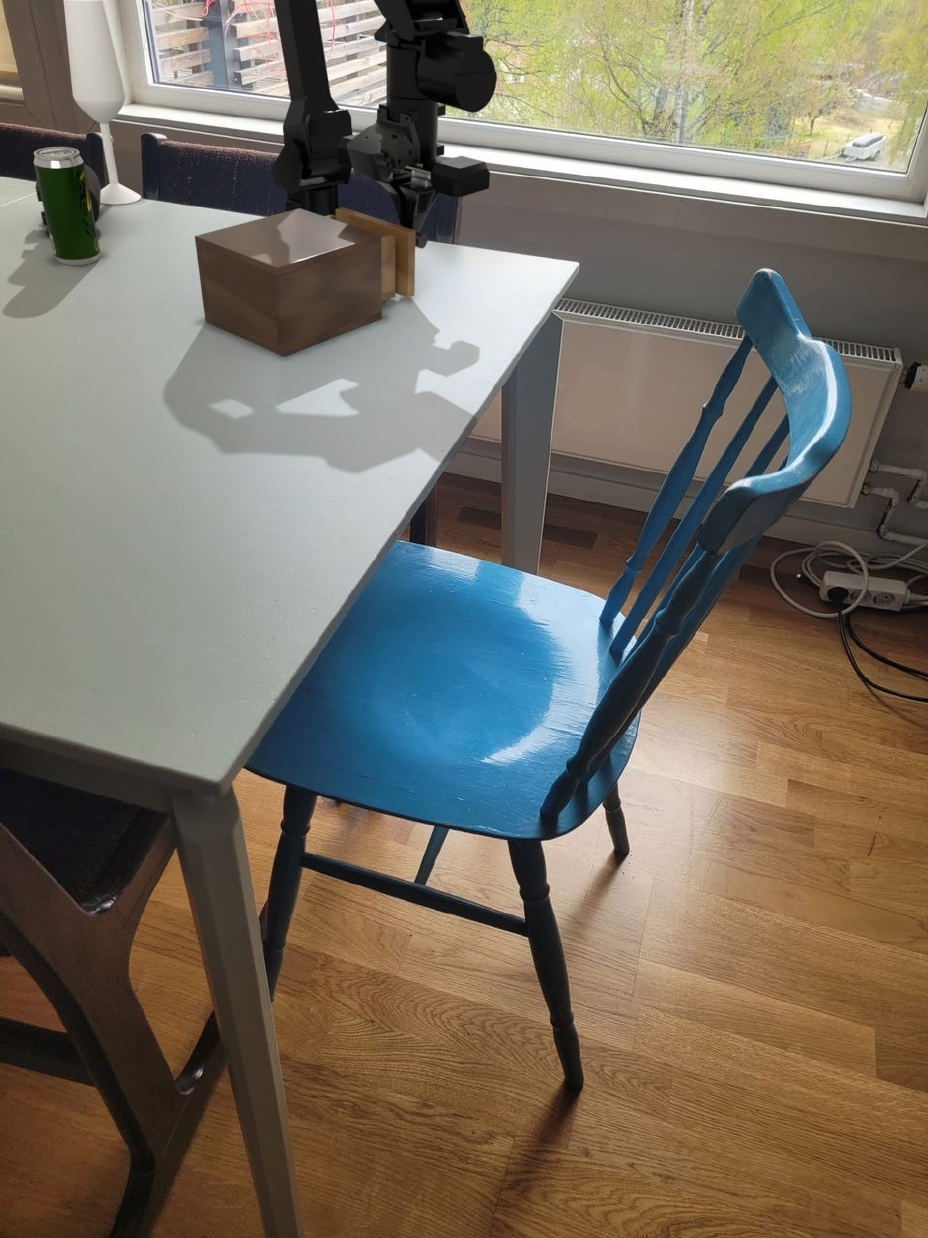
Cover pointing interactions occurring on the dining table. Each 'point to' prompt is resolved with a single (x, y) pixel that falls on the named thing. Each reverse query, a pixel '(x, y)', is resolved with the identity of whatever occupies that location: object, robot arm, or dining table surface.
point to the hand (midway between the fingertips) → (410, 240)
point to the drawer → (390, 250)
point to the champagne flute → (97, 81)
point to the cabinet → (290, 279)
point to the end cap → (93, 191)
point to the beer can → (67, 205)
